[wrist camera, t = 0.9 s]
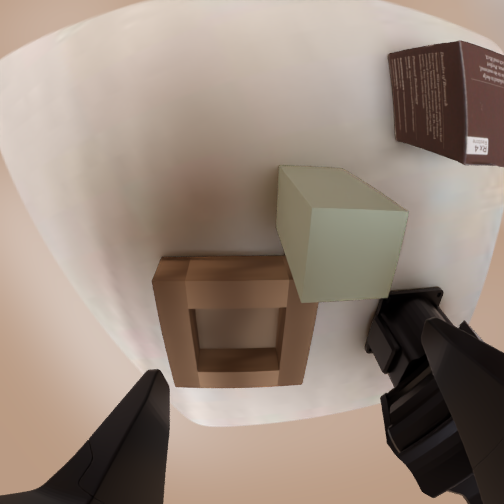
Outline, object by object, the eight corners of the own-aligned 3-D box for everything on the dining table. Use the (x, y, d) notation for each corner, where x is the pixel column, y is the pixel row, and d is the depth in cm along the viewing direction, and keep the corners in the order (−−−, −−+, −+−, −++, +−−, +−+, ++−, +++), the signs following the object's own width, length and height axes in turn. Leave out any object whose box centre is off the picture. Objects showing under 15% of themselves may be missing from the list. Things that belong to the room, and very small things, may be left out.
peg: (342, 168, 17) (408, 211, 10) (335, 227, 19) (387, 297, 12) (278, 165, 17) (312, 207, 10) (275, 227, 19) (301, 303, 12)
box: (454, 64, 14) (529, 65, 8) (458, 143, 17) (531, 169, 10) (385, 52, 14) (458, 36, 8) (392, 141, 17) (465, 166, 10)
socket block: (310, 255, 20) (322, 278, 17) (295, 357, 25) (302, 384, 22) (161, 256, 19) (151, 281, 17) (179, 360, 24) (175, 386, 21)
